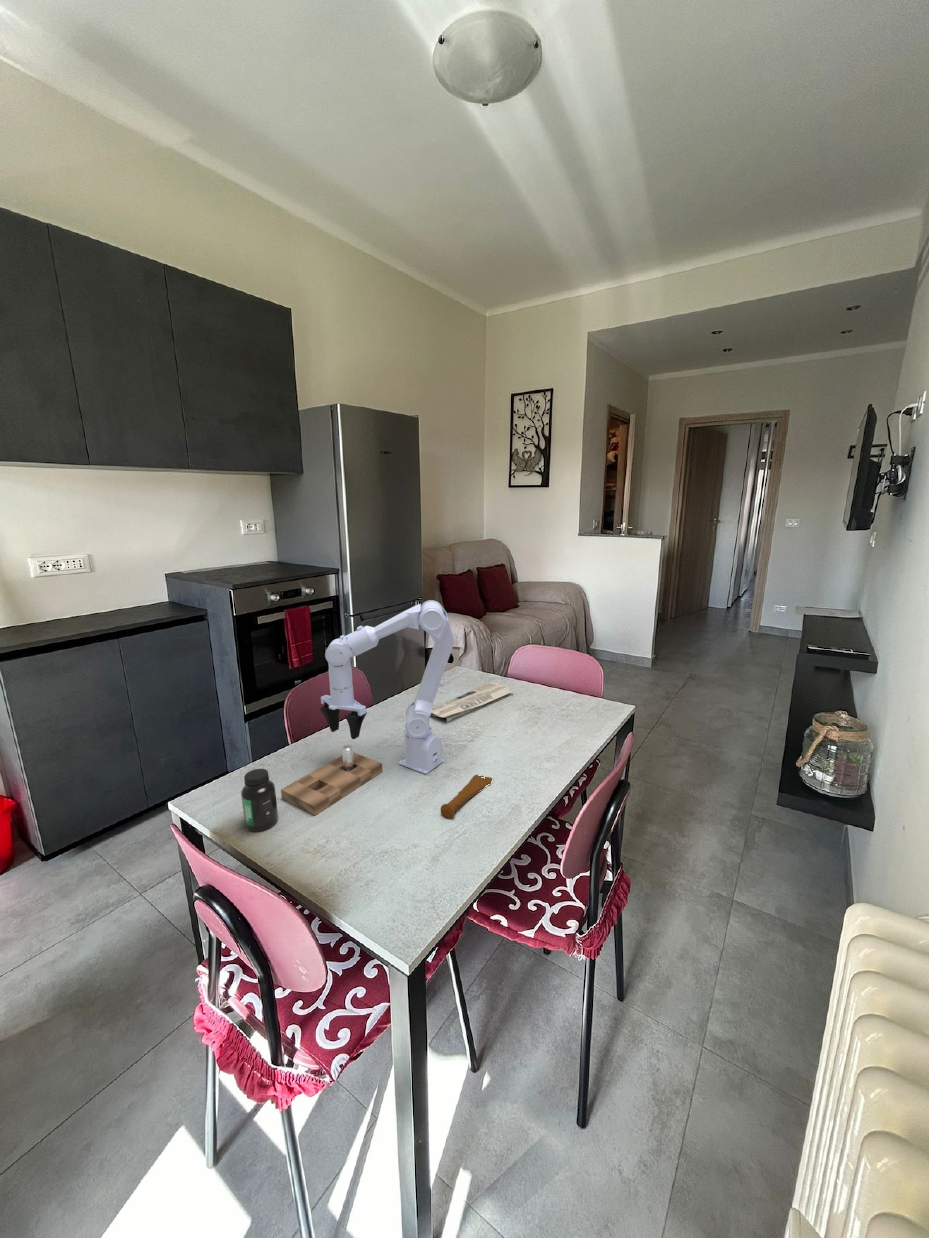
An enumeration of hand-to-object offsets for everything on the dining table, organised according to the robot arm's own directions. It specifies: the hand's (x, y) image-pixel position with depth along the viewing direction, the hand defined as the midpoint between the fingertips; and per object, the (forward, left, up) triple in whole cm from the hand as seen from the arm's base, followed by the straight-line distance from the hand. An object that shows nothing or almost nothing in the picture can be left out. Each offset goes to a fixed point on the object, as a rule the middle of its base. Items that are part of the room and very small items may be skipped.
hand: (345, 733), depth 130 cm
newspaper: (-5, -52, -10) cm, 53 cm away
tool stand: (-4, +8, -9) cm, 13 cm away
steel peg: (-4, +3, -10) cm, 11 cm away
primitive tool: (-34, -7, -10) cm, 36 cm away
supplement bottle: (-2, +27, -10) cm, 29 cm away
